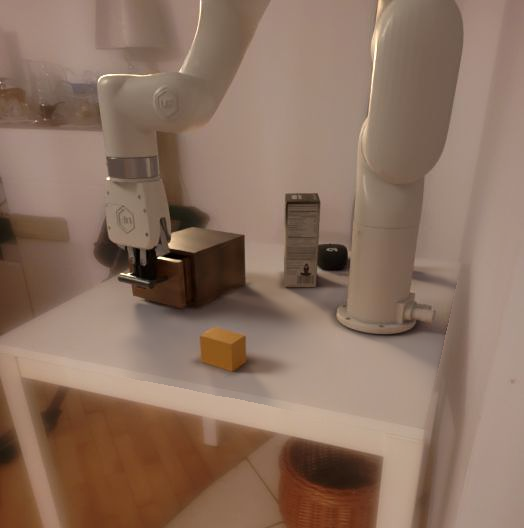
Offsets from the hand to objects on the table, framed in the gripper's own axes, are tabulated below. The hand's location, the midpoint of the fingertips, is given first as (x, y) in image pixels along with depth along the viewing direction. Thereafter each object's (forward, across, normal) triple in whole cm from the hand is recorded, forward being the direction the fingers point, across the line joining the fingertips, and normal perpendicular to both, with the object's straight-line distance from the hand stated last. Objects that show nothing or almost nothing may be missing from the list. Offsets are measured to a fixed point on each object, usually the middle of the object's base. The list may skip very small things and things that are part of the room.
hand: (146, 285), depth 81 cm
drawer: (+3, 0, +6) cm, 7 cm away
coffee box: (+4, +14, +28) cm, 31 cm away
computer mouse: (+4, +14, +42) cm, 44 cm away
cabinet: (+4, 0, +12) cm, 13 cm away
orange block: (+4, +22, -8) cm, 24 cm away
